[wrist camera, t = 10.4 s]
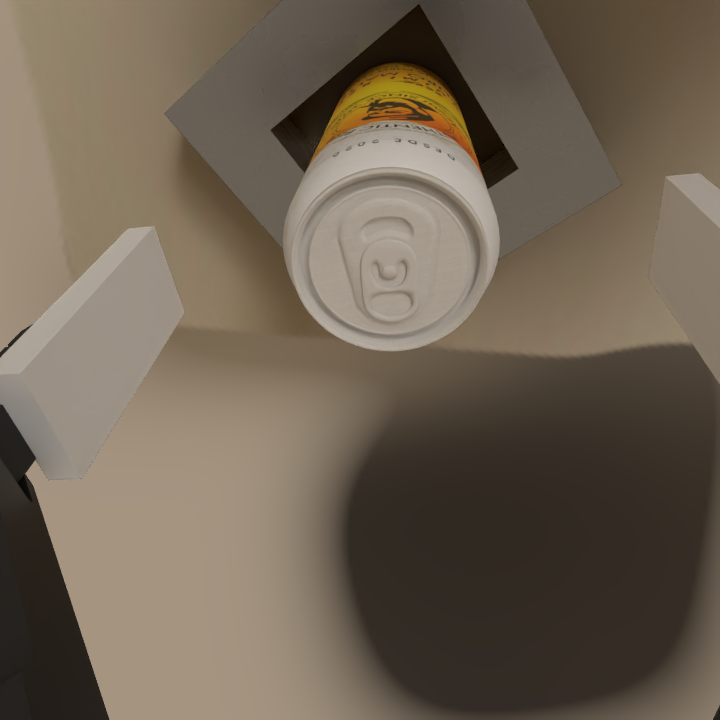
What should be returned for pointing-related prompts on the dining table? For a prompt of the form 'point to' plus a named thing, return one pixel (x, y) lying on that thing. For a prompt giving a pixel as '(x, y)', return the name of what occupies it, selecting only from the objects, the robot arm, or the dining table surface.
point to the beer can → (392, 215)
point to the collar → (344, 43)
